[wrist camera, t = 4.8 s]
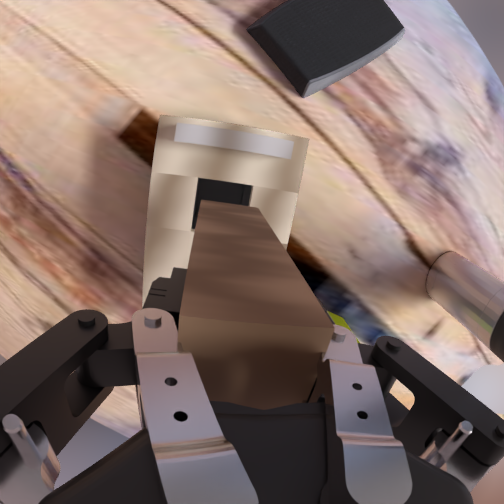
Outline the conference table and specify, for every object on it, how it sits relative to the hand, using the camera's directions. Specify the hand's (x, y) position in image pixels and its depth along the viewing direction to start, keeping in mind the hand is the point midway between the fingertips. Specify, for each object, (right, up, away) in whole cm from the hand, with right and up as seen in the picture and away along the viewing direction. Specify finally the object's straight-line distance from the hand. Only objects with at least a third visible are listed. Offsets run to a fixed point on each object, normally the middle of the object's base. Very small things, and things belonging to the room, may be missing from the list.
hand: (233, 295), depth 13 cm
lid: (-3, +3, +18) cm, 18 cm away
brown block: (-1, +3, +9) cm, 10 cm away
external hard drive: (+11, +31, +19) cm, 38 cm away
